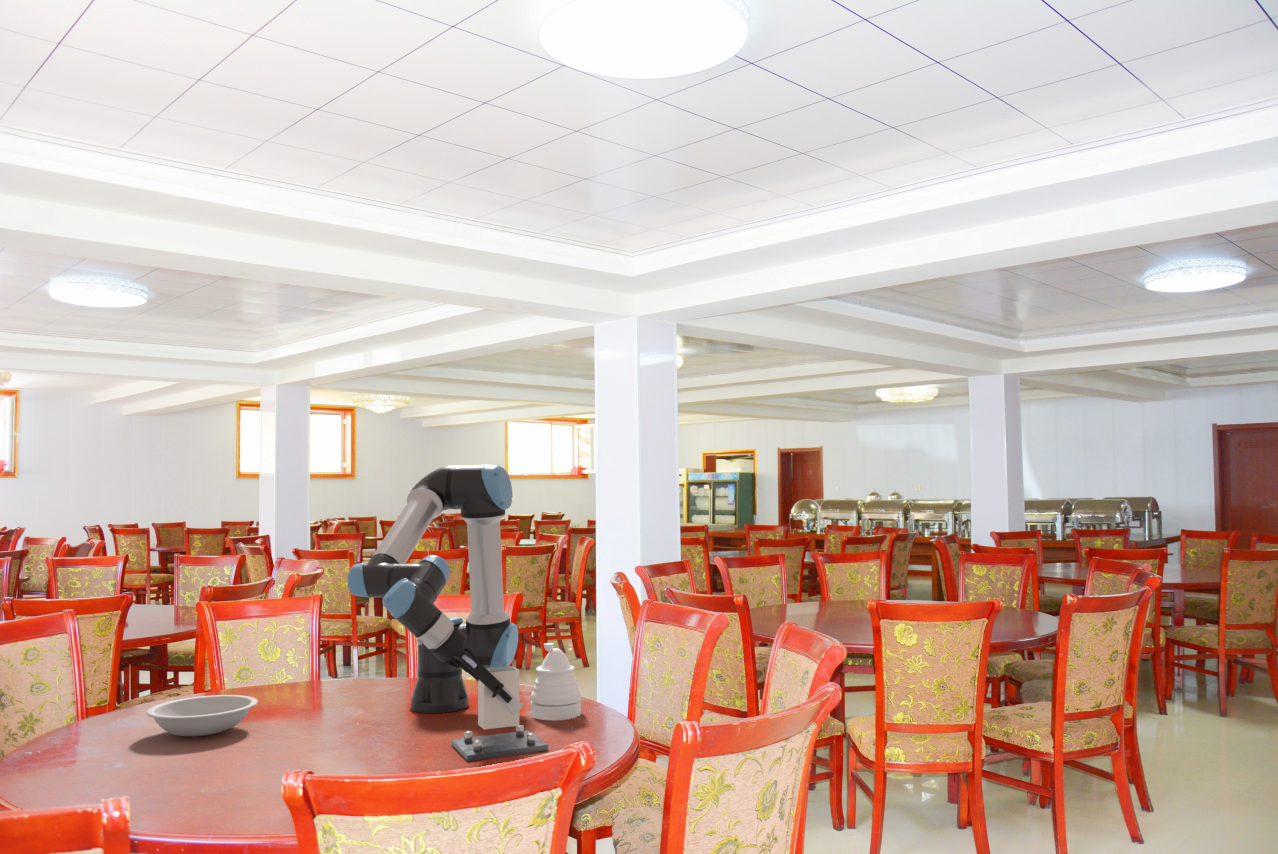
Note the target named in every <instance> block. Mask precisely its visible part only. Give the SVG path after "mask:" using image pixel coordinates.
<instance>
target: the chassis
mask: <svg viewBox="0 0 1278 854" xmlns="http://www.w3.org/2000/svg"><path fill="white" fill-rule="evenodd" d="M451 746H452V747H453V748H454V749H455V750H456V751H457V752H458V753H459V755H461V757H463V759H465V760H466V761H467V762H472V761H478V760H481V761H482V760H487V759H495V758H501V757H509V756H516V755H525V754H532V753H539V752H546V751H547V752H548V751H549V744H548V743H546V742H545V741H544V740H543V739H541V738H540V737H539V736H537V735H536V734H535V733H534V732H532V731H530V730H527V729H526V730H525V726H524V725H523V724H519V726H515V731H513V732H504V733H495V734H488V735H480V736H473V731H471V730H467V731H463V737H461V738H456V739H455V738H454V739H451Z"/></svg>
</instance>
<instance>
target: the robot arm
mask: <svg viewBox="0 0 1278 854" xmlns="http://www.w3.org/2000/svg"><path fill="white" fill-rule="evenodd" d="M512 487H513V486H512V482H511V479H510V476H509V474H508V472H507V470H506V469H505V468H504V467H502V466H501V465H498V464H496V465H495V464H469V465H468V464H467V465H464V464H463V465H453V464H452V465H445V466H442V467H440V468H439V467H438V468H437V469H435V470H433V471H431V472H430V473H428V474H427V475H425V476H424V477H423V478H422V479H420V480H419V481H418V482H416V484H414V486H413V487H412V488H411V490H410V491H409V493H408V495H407V497H406V505H405V506H404V508H403V509H402V510H401V512H400V513H399V515H398V517H397V518H396V520H394V522H393V524H392V525H391V528H390V529H389V530H388V532H387V534H386V535H385V537H384V538H383V539H382V541H381V542H380V544H379V545H378V547H377V549H376V550H375V551H374V553H373V554H372V556H371V558H369V560H368V562H367V563H365V562H362V563H356V564H353V565H352V566H351V568H350V569H349V571H348V575H347V587H348V591H349V592H350V594H351V595H353V596H355V597H362V598H382V605H383V607H384V608H385V609H386V610H387V611H388V612H389V614H390V615H391V616H392V617H393V618H394V619H396V620H397V621H398V622H399V623H400V624H401V625H402V626H403V627H404V628H405V629H407V631H409V632H410V633H411V634H412V635H413V637H415V638H416V639H417V641H416V642H417V680H416V683H415V686H414V689H413V693H412V695H411V699H410V710H411V711H413V712H418V713H425V714H436V713H437V714H440V713H451V712H455V711H460V710H464V709H466V708H468V706H469V694H468V691H467V687H466V685H465V682H464V678H463V671H464V672H465V673H466V674H467V673H468V674H469V675H470V676H471V677H473V679H475V681H476V682H478V679H479V680H480V681H481V682H482V683H483V684H484V685H485V686H486V687H487V688H488V689H489V690H491V691H492V692H493V695H492V697H493V698H494V697H495V696H496V697H497V698H498V699H499V700H500V701H501V702H502V703H503V704H504V705H505V706H506V707H507V708H508V709H509V710H510V711H511V712H512V713H513V714H514V715H516V713H517V712H518V711H519V712H520V710H521V709H522V708H523V706H524V704H523V703H522V702H521V701H520V699H519V700H518V699H517V698H515V697H514V696H513V695H512V694H511V693H510V692H509V691H508V690H507V689H506V688H505V687H504V685H503V684H502V683H500V682H499V681H498V680H497V679H496V678H495V677H494V676H493V675H492V674H491V673H490V672H489V671H488V670H487V669H486V668H492V667H503V666H511V664H512V662H513V660H514V659H515V655H516V652H517V648H518V643H519V629H518V625H517V624H515V623H513V622H511V616H510V615H511V614H509V613H508V612H507V611H506V610H505V609H504V607H505V606H504V605H505V604H504V587H503V586H504V584H503V583H504V582H503V564H502V563H503V561H502V542H501V541H502V540H501V537H502V535H501V521H502V520H503V518H504V517H505V516H506V510H508V509H510V507H511V506H512V503H513V502H512V501H513V500H512V498H513V488H512ZM448 510H459V511H460V518H461V520H464V522H465V523H466V528H467V529H466V530H467V531H466V532H467V547H468V549H467V550H468V571H469V592H470V593H469V597H470V613H469V615H468V616H466V618H465V622H464V619H463V617H462V616H459V617H458V616H453V617H452V616H451V617H449V616H447V615H446V614H445V613H444V612H443V611H442V610H441V609H439V608H438V607H437V606H436V605H435V602H436V601H437V599H438V597H439V596H440V595H441V592H442V591H443V589H444V588H445V586H446V584H447V582H448V579H449V577H450V574H451V569H450V566H449V563H448V562H447V561H446V560H445V559H444V558H443V557H441V556H438V555H436V554H435V555H433V554H430V555H427V556H425V557H423V558H422V559H420V561H418V563H407V562H408V560H409V558H410V557H411V555H412V554H413V552H414V550H415V549H416V547H417V546H418V544H419V542H420V540H421V539H422V538H423V536H424V534H425V532H426V530H428V527H429V526H430V524H431V523H432V521H433V520H434V519H436V518H438V517H439V516H440V515H441V514H442V512H444V511H448Z"/></svg>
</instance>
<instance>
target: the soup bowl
mask: <svg viewBox="0 0 1278 854" xmlns="http://www.w3.org/2000/svg"><path fill="white" fill-rule="evenodd" d="M257 705H258V699H257V698H256V697H253V696H249V695H248V696H247V695H239V694H217V695H215V694H213V695H212V694H211V695H200V696H194V697H192V696H191V697H187V698H186V697H185V698H179V699H174V700H170V701H166V702H162V703H158V704H155V705H153V706H151V707H149V708H148V709H147V710H146V712H145V714H146V715H147V716H148V717H150V718H153V719H154V721H155V723H156V724H157V725H158V727H160V728H161V729H162V730H164V731H165V732H167V733H169V734H170V735H171V734H172V735H174V736H181V737H201V736H202V737H203V736H209V735H215V734H218V733H222V732H225V731H228V730H230V729H232V728H234V727H236V726H237V725H238V724H239V723H241V721H243V720H244V719H245V717H246V716H247V715H248V713H249V712H250V710H251V709H252V708H254V707H256V706H257Z"/></svg>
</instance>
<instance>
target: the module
mask: <svg viewBox="0 0 1278 854" xmlns="http://www.w3.org/2000/svg"><path fill="white" fill-rule="evenodd" d="M486 669H487V670H488V671H489V672H490V673H491V674H492V675H493V676H494V677H495V678H496V679H497V680H498V681H499V682H500V683H502V684H503V685H504V687H505V688H506V689H507V690H508V691H509V692H510V693H511V694H512V695H513V696H514V697H515V698H517V699H518V700H519V701H520V669H518V668H516V667H514V666H512V665H509V666H503V667H492V668H486ZM477 693H478V694H477V695H478V696H477V725H478V726H479V727H480V728H481V729H482V730H489V729H490V730H492V729H493V730H494V729H499V728H508V727H516V726H519V725H520V710H519V711H518V712H517V713H516V715H514V714H513V713H512V712H511V711H510V710H509V709H508V708H507V707H506V706H505V705H504V704H503V703H502V702H501V701H500V700H499V699H498V698H497V697H496V696H495V697H494V698H493V697H492V695H493V692H492V691H491V690H489V689H488V688H487V687H486V686H485V685H484V684H483V683H482V682H481V681H480V680H479V679H478V681H477Z"/></svg>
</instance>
